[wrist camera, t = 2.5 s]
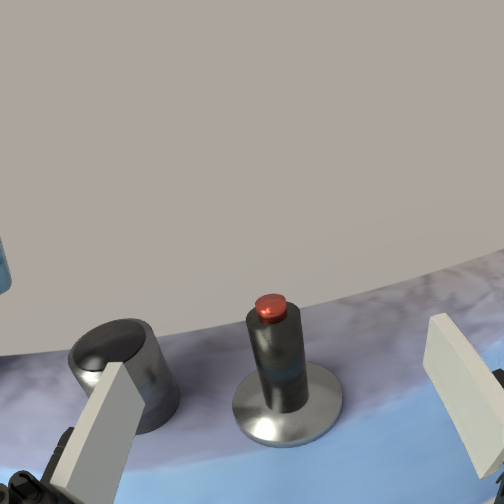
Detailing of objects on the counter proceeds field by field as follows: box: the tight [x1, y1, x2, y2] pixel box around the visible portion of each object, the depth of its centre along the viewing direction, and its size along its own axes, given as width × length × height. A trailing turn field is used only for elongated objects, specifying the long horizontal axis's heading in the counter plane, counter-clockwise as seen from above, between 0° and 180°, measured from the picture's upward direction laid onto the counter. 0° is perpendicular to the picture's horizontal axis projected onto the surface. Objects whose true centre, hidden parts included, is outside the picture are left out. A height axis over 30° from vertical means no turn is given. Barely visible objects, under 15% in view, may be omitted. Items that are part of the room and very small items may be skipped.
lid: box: [232, 294, 342, 448], centre depth 25 cm, size 10×10×12 cm
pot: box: [68, 319, 180, 435], centre depth 28 cm, size 9×9×8 cm
